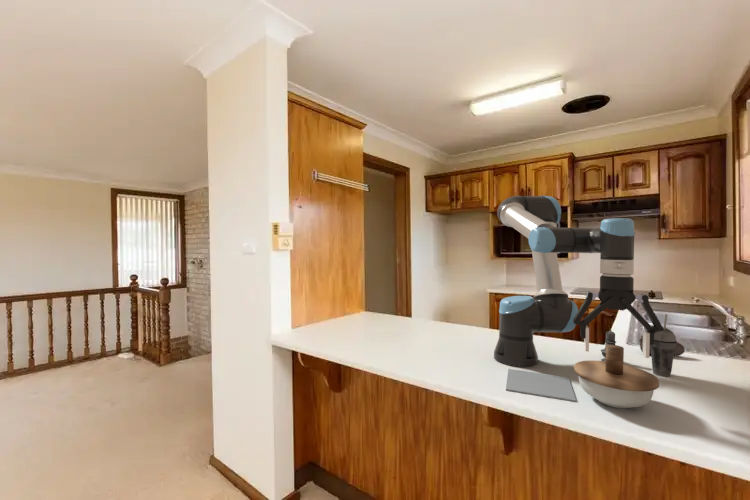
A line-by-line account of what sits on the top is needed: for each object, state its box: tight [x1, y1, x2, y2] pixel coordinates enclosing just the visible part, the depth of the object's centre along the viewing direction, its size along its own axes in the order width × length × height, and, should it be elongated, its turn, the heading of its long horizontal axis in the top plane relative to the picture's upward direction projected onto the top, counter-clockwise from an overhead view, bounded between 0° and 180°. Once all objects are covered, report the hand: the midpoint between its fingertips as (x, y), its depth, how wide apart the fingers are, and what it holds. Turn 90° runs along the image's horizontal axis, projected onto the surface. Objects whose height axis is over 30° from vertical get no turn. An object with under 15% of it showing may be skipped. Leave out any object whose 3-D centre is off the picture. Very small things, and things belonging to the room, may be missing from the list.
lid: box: [573, 344, 660, 391], centre depth 95 cm, size 19×19×8 cm
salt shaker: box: [600, 328, 617, 361], centre depth 128 cm, size 6×6×12 cm
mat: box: [505, 368, 577, 403], centre depth 107 cm, size 18×18×1 cm
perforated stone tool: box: [638, 335, 686, 357], centre depth 136 cm, size 15×5×7 cm, turn 69°
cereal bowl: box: [577, 375, 655, 409], centre depth 95 cm, size 17×17×7 cm
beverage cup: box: [650, 314, 678, 378], centre depth 116 cm, size 7×7×20 cm
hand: (615, 353), depth 95 cm, fingers open, 13 cm apart
